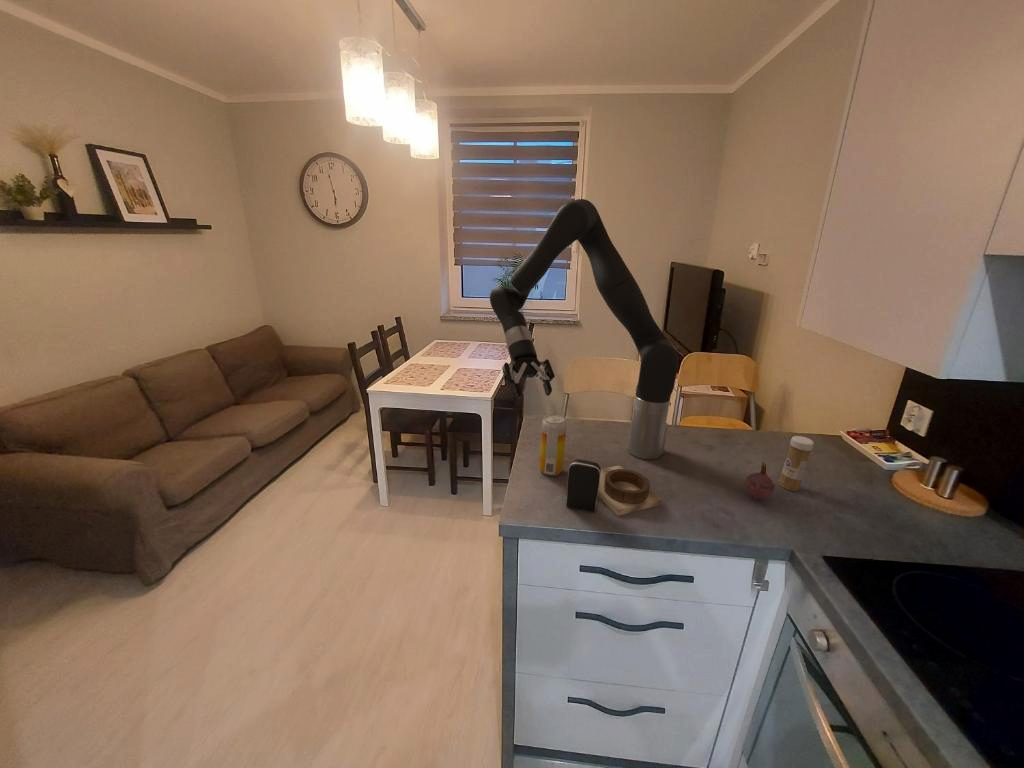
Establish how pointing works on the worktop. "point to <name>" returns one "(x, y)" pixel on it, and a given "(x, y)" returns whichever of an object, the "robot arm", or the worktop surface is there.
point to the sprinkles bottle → (796, 463)
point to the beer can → (552, 444)
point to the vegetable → (760, 484)
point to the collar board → (628, 487)
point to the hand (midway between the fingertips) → (535, 396)
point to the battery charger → (583, 485)
